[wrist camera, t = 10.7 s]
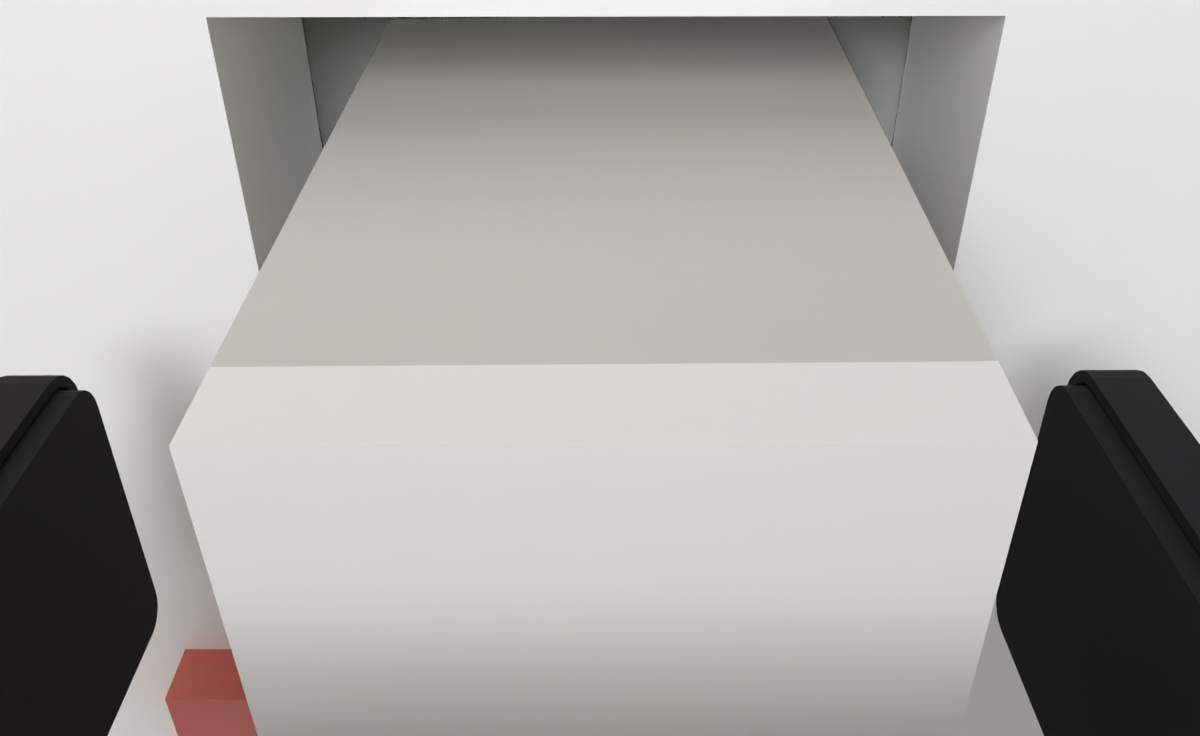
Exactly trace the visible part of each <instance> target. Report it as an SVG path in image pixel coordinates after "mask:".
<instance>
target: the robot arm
mask: <svg viewBox="0 0 1200 736" xmlns="http://www.w3.org/2000/svg"><path fill="white" fill-rule="evenodd" d="M1037 440H1038V443H1037V447H1036V451H1035V454H1034V458H1033V462H1032V465H1031V469H1030V473H1029V476H1028V480H1027V484H1026V488H1025V491H1024V495H1023V499H1022V502H1021V506H1020V510H1019V513H1018V517H1017V521H1016V525H1015V528H1014V532H1013V536H1012V539H1011V543H1010V547H1009V550H1008V554H1007V558H1006V562H1005V565H1004V569H1003V573H1002V576H1001V580H1000V584H999V587H998V591H997V595H996V609H997V617H998V622H999V625H1000V628H1001V631H1002V634H1003V636H1004V639H1005V641H1006V644H1007V646H1008V648H1009V651H1010V653H1011V656H1012V658H1013V661H1014V663H1015V666H1016V668H1017V671H1018V673H1019V676H1020V678H1021V680H1022V683H1023V685H1024V688H1025V690H1026V693H1027V695H1028V698H1029V700H1030V703H1031V705H1032V708H1033V710H1034V712H1035V715H1036V717H1037V720H1038V722H1039V725H1040V727H1041V730H1042V732H1043V735H1044V736H1200V444H1199V442H1198V441H1197V440H1196V438H1195V437H1194V436H1193V434H1192V433H1191V432H1190V430H1189V429H1188V428H1187V426H1186V425H1185V424H1184V422H1183V421H1182V419H1181V418H1180V417H1179V415H1178V414H1177V413H1176V411H1175V410H1174V409H1173V407H1172V406H1171V405H1170V403H1169V402H1168V401H1167V399H1166V398H1165V397H1164V395H1163V394H1162V393H1161V391H1160V390H1159V389H1158V387H1157V386H1156V385H1155V383H1154V382H1153V381H1152V379H1151V378H1150V377H1149V376H1148V375H1147V374H1146V373H1145V372H1144V371H1140V370H1080V371H1077V372H1075V373H1074V374H1073V376H1072V377H1071V378H1070V380H1069V382H1068V385H1058V386H1056V387H1054V388H1053V390H1052V391H1051V393H1050V395H1049V398H1048V401H1047V405H1046V409H1045V412H1044V416H1043V420H1042V423H1041V427H1040V431H1039V435H1038V438H1037ZM157 612H158V602H157V595H156V591H155V587H154V584H153V581H152V578H151V575H150V571H149V568H148V565H147V562H146V558H145V555H144V552H143V549H142V546H141V542H140V539H139V536H138V533H137V530H136V526H135V523H134V520H133V517H132V514H131V510H130V507H129V504H128V501H127V498H126V494H125V491H124V488H123V485H122V482H121V478H120V475H119V472H118V469H117V465H116V462H115V459H114V456H113V453H112V449H111V446H110V443H109V440H108V437H107V433H106V430H105V427H104V424H103V421H102V417H101V414H100V411H99V408H98V405H97V402H96V400H95V398H94V396H93V395H92V394H91V393H90V392H88V391H86V390H78V389H77V386H76V384H75V383H74V382H73V381H72V380H71V379H70V378H69V377H66V376H64V375H7V376H3V377H0V736H108V734H109V731H110V729H111V727H112V725H113V722H114V720H115V718H116V716H117V713H118V711H119V709H120V707H121V704H122V702H123V700H124V698H125V695H126V693H127V691H128V689H129V686H130V684H131V682H132V680H133V677H134V675H135V673H136V671H137V668H138V666H139V664H140V661H141V659H142V657H143V655H144V652H145V650H146V648H147V646H148V643H149V641H150V639H151V637H152V634H153V632H154V629H155V626H156V620H157Z"/></svg>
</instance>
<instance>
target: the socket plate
mask: <svg viewBox="0 0 1200 736" xmlns="http://www.w3.org/2000/svg"><path fill="white" fill-rule="evenodd" d="M626 16H913V17H912V23H911V29H910V36H909V42H908V49H907V55H906V61H905V68H904V74H903V80H902V87H901V93H900V100H899V106H898V112H897V119H896V125H895V131H894V138H893V144H892V149H893V151H894V153H895V155H896V157H897V159H898V161H899V163H900V165H901V167H902V169H903V171H904V173H905V175H906V177H907V179H908V181H909V183H910V185H911V187H912V189H913V191H914V193H915V195H916V197H917V199H918V201H919V203H920V205H921V207H922V209H923V211H924V213H925V215H926V217H927V219H928V221H929V223H930V225H931V227H932V229H933V231H934V233H935V235H936V237H937V239H938V241H939V243H940V245H941V247H942V249H943V251H944V253H945V255H946V257H947V259H948V261H949V263H950V265H951V267H952V269H953V271H954V273H955V275H956V277H957V279H958V281H959V283H960V285H961V287H962V289H963V291H964V293H965V295H966V297H967V299H968V301H969V303H970V305H971V307H972V309H973V311H974V313H975V315H976V317H977V319H978V321H979V323H980V325H981V327H982V329H983V331H984V333H985V335H986V337H987V339H988V341H989V343H990V346H991V348H992V350H993V352H994V354H995V356H996V358H997V360H998V362H999V364H1000V366H1001V368H1002V370H1003V372H1004V374H1005V376H1006V378H1007V380H1008V382H1009V384H1010V386H1011V388H1012V390H1013V392H1014V394H1015V396H1016V398H1017V400H1018V402H1019V404H1020V406H1021V408H1022V410H1023V412H1024V414H1025V416H1026V418H1027V420H1028V422H1029V424H1030V426H1031V428H1032V430H1033V432H1034V434H1035V436H1036V438H1038V435H1039V431H1040V427H1041V423H1042V420H1043V416H1044V412H1045V409H1046V405H1047V401H1048V398H1049V395H1050V393H1051V391H1052V390H1053V388H1054V387H1056V386H1058V385H1068V382H1069V380H1070V378H1071V377H1072V376H1073V374H1074V373H1075V372H1077V371H1080V370H1140V371H1144V372H1145V373H1146V374H1147V375H1148V376H1149V377H1150V378H1151V379H1152V381H1153V382H1154V383H1155V385H1156V386H1157V387H1158V389H1159V390H1160V391H1161V393H1162V394H1163V395H1164V397H1165V398H1166V399H1167V401H1168V402H1169V403H1170V405H1171V406H1172V407H1173V409H1174V410H1175V411H1176V413H1177V414H1178V415H1179V417H1180V418H1181V419H1182V421H1183V422H1184V424H1185V425H1186V426H1187V428H1188V429H1189V430H1190V432H1191V433H1192V434H1193V436H1194V437H1195V438H1196V440H1197V441H1198V442H1199V444H1200V0H0V377H3V376H7V375H64V376H66V377H69V378H70V379H71V380H72V381H73V382H74V383H75V384H76V386H77V389H78V390H86V391H88V392H90V393H91V394H92V395H93V396H94V398H95V400H96V402H97V405H98V408H99V411H100V414H101V417H102V421H103V424H104V427H105V430H106V433H107V437H108V440H109V443H110V446H111V449H112V453H113V456H114V459H115V462H116V465H117V469H118V472H119V475H120V478H121V482H122V485H123V488H124V491H125V494H126V498H127V501H128V504H129V507H130V510H131V514H132V517H133V520H134V523H135V526H136V530H137V533H138V536H139V539H140V542H141V546H142V549H143V552H144V555H145V558H146V562H147V565H148V568H149V571H150V575H151V578H152V581H153V584H154V587H155V591H156V595H157V602H158V612H157V620H156V626H155V629H154V632H153V634H152V637H151V639H150V641H149V643H148V646H147V648H146V650H145V652H144V655H143V657H142V659H141V661H140V664H139V666H138V668H137V671H136V673H135V675H134V677H133V680H132V682H131V684H130V686H129V689H128V691H127V693H126V695H125V698H124V700H123V702H122V704H121V707H120V709H119V711H118V713H117V716H116V718H115V720H114V722H113V725H112V727H111V729H110V731H109V734H108V736H258V735H257V732H256V728H255V725H254V722H253V719H252V715H251V712H250V709H249V706H248V702H247V699H246V696H245V693H244V689H243V686H242V683H241V680H240V676H239V673H238V670H237V667H236V663H235V660H234V657H233V654H232V650H231V647H230V644H229V641H228V637H227V634H226V631H225V628H224V624H223V621H222V618H221V615H220V611H219V608H218V605H217V602H216V598H215V595H214V592H213V589H212V585H211V582H210V579H209V576H208V572H207V569H206V566H205V563H204V559H203V556H202V553H201V550H200V546H199V543H198V540H197V537H196V533H195V530H194V527H193V524H192V520H191V517H190V514H189V511H188V507H187V504H186V501H185V498H184V494H183V491H182V488H181V485H180V481H179V478H178V475H177V472H176V468H175V465H174V462H173V459H172V455H171V452H170V449H169V445H170V443H171V441H172V439H173V437H174V435H175V433H176V431H177V429H178V427H179V425H180V424H181V422H182V420H183V418H184V416H185V414H186V412H187V410H188V408H189V406H190V404H191V402H192V400H193V398H194V397H195V395H196V393H197V391H198V389H199V387H200V385H201V383H202V381H203V379H204V377H205V375H206V373H207V372H208V370H209V368H210V366H211V364H212V362H213V360H214V358H215V356H216V354H217V352H218V350H219V348H220V347H221V345H222V343H223V341H224V339H225V337H226V335H227V333H228V331H229V329H230V327H231V325H232V323H233V321H234V320H235V318H236V316H237V314H238V312H239V310H240V308H241V306H242V304H243V302H244V300H245V298H246V296H247V295H248V293H249V291H250V289H251V287H252V285H253V283H254V281H255V279H256V277H257V275H258V273H259V271H260V270H261V268H262V266H263V264H264V262H265V260H266V258H267V256H268V254H269V252H270V250H271V248H272V246H273V245H274V243H275V241H276V239H277V237H278V235H279V233H280V231H281V229H282V227H283V225H284V223H285V221H286V219H287V218H288V216H289V214H290V212H291V210H292V208H293V206H294V204H295V202H296V200H297V198H298V196H299V194H300V193H301V191H302V189H303V187H304V185H305V183H306V181H307V179H308V177H309V175H310V173H311V171H312V169H313V168H314V166H315V164H316V162H317V160H318V158H319V156H320V154H321V152H322V143H321V137H320V131H319V124H318V118H317V112H316V106H315V99H314V93H313V87H312V80H311V74H310V68H309V62H308V55H307V49H306V43H305V36H304V30H303V24H302V18H301V17H626ZM958 736H1044V735H1043V732H1042V730H1041V727H1040V725H1039V722H1038V720H1037V717H1036V715H1035V712H1034V710H1033V708H1032V705H1031V703H1030V700H1029V698H1028V695H1027V693H1026V690H1025V688H1024V685H1023V683H1022V680H1021V678H1020V676H1019V673H1018V671H1017V668H1016V666H1015V663H1014V661H1013V658H1012V656H1011V653H1010V651H1009V648H1008V646H1007V644H1006V641H1005V639H1004V636H1003V634H1002V631H1001V628H1000V625H999V622H998V617H997V609H996V599H995V602H994V606H993V610H992V613H991V617H990V621H989V624H988V628H987V632H986V636H985V639H984V643H983V647H982V650H981V654H980V658H979V661H978V665H977V669H976V673H975V676H974V680H973V684H972V687H971V691H970V695H969V698H968V702H967V706H966V710H965V713H964V717H963V721H962V724H961V728H960V732H959V735H958Z"/></svg>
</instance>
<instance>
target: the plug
mask: <svg viewBox="0 0 1200 736" xmlns="http://www.w3.org/2000/svg"><path fill="white" fill-rule="evenodd" d="M1037 443H1038V440H1037V438H1036V436H1035V434H1034V432H1033V430H1032V428H1031V426H1030V424H1029V422H1028V420H1027V418H1026V416H1025V414H1024V412H1023V410H1022V408H1021V406H1020V404H1019V402H1018V400H1017V398H1016V396H1015V394H1014V392H1013V390H1012V388H1011V386H1010V384H1009V382H1008V380H1007V378H1006V376H1005V374H1004V372H1003V370H1002V368H1001V366H1000V364H999V362H998V360H997V358H996V356H995V354H994V352H993V350H992V348H991V346H990V343H989V341H988V339H987V337H986V335H985V333H984V331H983V329H982V327H981V325H980V323H979V321H978V319H977V317H976V315H975V313H974V311H973V309H972V307H971V305H970V303H969V301H968V299H967V297H966V295H965V293H964V291H963V289H962V287H961V285H960V283H959V281H958V279H957V277H956V275H955V273H954V271H953V269H952V267H951V265H950V263H949V261H948V259H947V257H946V255H945V253H944V251H943V249H942V247H941V245H940V243H939V241H938V239H937V237H936V235H935V233H934V231H933V229H932V227H931V225H930V223H929V221H928V219H927V217H926V215H925V213H924V211H923V209H922V207H921V205H920V203H919V201H918V199H917V197H916V195H915V193H914V191H913V189H912V187H911V185H910V183H909V181H908V179H907V177H906V175H905V173H904V171H903V169H902V167H901V165H900V163H899V161H898V159H897V157H896V155H895V153H894V151H893V149H892V147H891V145H890V143H889V141H888V139H887V137H886V135H885V133H884V131H883V129H882V127H881V125H880V123H879V121H878V119H877V117H876V115H875V113H874V111H873V109H872V107H871V105H870V103H869V101H868V99H867V97H866V95H865V93H864V91H863V89H862V87H861V85H860V83H859V81H858V79H857V77H856V75H855V73H854V71H853V69H852V67H851V65H850V63H849V61H848V59H847V57H846V55H845V53H844V51H843V49H842V47H841V45H840V43H839V41H838V39H837V37H836V35H835V33H834V31H833V29H832V27H831V25H830V22H829V20H828V18H827V16H626V17H545V18H469V19H393V20H390V21H389V23H388V25H387V27H386V29H385V31H384V33H383V35H382V37H381V39H380V40H379V42H378V44H377V46H376V48H375V50H374V52H373V54H372V56H371V58H370V60H369V62H368V64H367V66H366V67H365V69H364V71H363V73H362V75H361V77H360V79H359V81H358V83H357V85H356V87H355V89H354V91H353V92H352V94H351V96H350V98H349V100H348V102H347V104H346V106H345V108H344V110H343V112H342V114H341V116H340V117H339V119H338V121H337V123H336V125H335V127H334V129H333V131H332V133H331V135H330V137H329V139H328V141H327V143H326V144H325V146H324V148H323V150H322V152H321V154H320V156H319V158H318V160H317V162H316V164H315V166H314V168H313V169H312V171H311V173H310V175H309V177H308V179H307V181H306V183H305V185H304V187H303V189H302V191H301V193H300V194H299V196H298V198H297V200H296V202H295V204H294V206H293V208H292V210H291V212H290V214H289V216H288V218H287V219H286V221H285V223H284V225H283V227H282V229H281V231H280V233H279V235H278V237H277V239H276V241H275V243H274V245H273V246H272V248H271V250H270V252H269V254H268V256H267V258H266V260H265V262H264V264H263V266H262V268H261V270H260V271H259V273H258V275H257V277H256V279H255V281H254V283H253V285H252V287H251V289H250V291H249V293H248V295H247V296H246V298H245V300H244V302H243V304H242V306H241V308H240V310H239V312H238V314H237V316H236V318H235V320H234V321H233V323H232V325H231V327H230V329H229V331H228V333H227V335H226V337H225V339H224V341H223V343H222V345H221V347H220V348H219V350H218V352H217V354H216V356H215V358H214V360H213V362H212V364H211V366H210V368H209V370H208V372H207V373H206V375H205V377H204V379H203V381H202V383H201V385H200V387H199V389H198V391H197V393H196V395H195V397H194V398H193V400H192V402H191V404H190V406H189V408H188V410H187V412H186V414H185V416H184V418H183V420H182V422H181V424H180V425H179V427H178V429H177V431H176V433H175V435H174V437H173V439H172V441H171V443H170V445H169V449H170V452H171V455H172V459H173V462H174V465H175V468H176V472H177V475H178V478H179V481H180V485H181V488H182V491H183V494H184V498H185V501H186V504H187V507H188V511H189V514H190V517H191V520H192V524H193V527H194V530H195V533H196V537H197V540H198V543H199V546H200V550H201V553H202V556H203V559H204V563H205V566H206V569H207V572H208V576H209V579H210V582H211V585H212V589H213V592H214V595H215V598H216V602H217V605H218V608H219V611H220V615H221V618H222V621H223V624H224V628H225V631H226V634H227V637H228V641H229V644H230V647H231V650H232V654H233V657H234V660H235V663H236V667H237V670H238V673H239V676H240V680H241V683H242V686H243V689H244V693H245V696H246V699H247V702H248V706H249V709H250V712H251V715H252V719H253V722H254V725H255V728H256V732H257V735H258V736H958V735H959V732H960V728H961V724H962V721H963V717H964V713H965V710H966V706H967V702H968V698H969V695H970V691H971V687H972V684H973V680H974V676H975V673H976V669H977V665H978V661H979V658H980V654H981V650H982V647H983V643H984V639H985V636H986V632H987V628H988V624H989V621H990V617H991V613H992V610H993V606H994V602H995V599H996V595H997V591H998V587H999V584H1000V580H1001V576H1002V573H1003V569H1004V565H1005V562H1006V558H1007V554H1008V550H1009V547H1010V543H1011V539H1012V536H1013V532H1014V528H1015V525H1016V521H1017V517H1018V513H1019V510H1020V506H1021V502H1022V499H1023V495H1024V491H1025V488H1026V484H1027V480H1028V476H1029V473H1030V469H1031V465H1032V462H1033V458H1034V454H1035V451H1036V447H1037Z"/></svg>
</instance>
